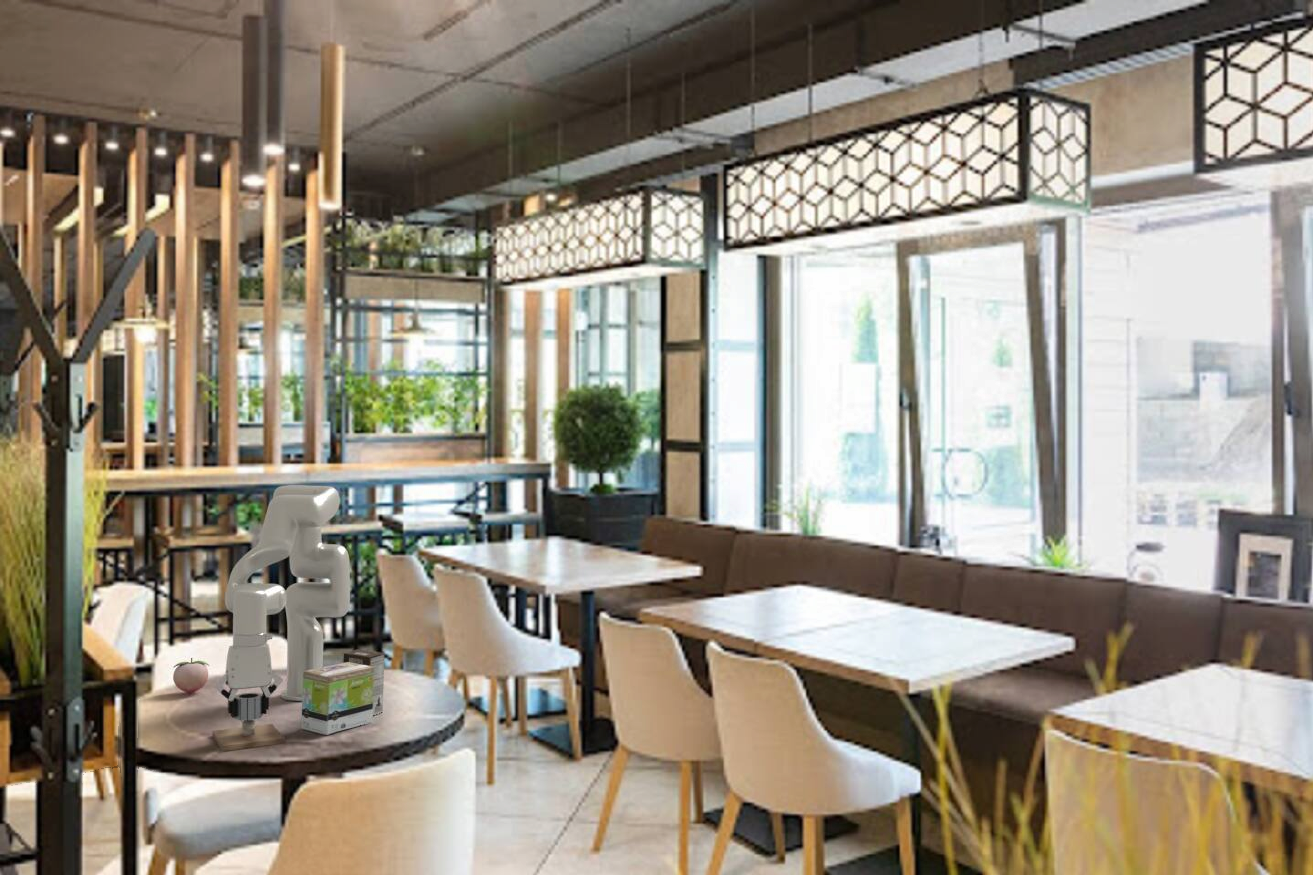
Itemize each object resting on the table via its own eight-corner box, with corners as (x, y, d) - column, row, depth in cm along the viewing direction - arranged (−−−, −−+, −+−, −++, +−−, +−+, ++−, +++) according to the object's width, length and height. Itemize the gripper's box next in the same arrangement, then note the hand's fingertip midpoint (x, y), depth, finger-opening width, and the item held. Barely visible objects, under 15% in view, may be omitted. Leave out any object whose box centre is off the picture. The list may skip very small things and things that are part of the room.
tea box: (328, 736, 272) (329, 676, 271) (300, 729, 277) (301, 670, 277) (374, 722, 284) (375, 665, 284) (346, 716, 290) (347, 660, 289)
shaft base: (271, 728, 277) (272, 710, 277) (284, 743, 265) (285, 724, 265) (212, 735, 270) (212, 717, 270) (222, 751, 258) (223, 732, 258)
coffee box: (340, 713, 292) (341, 652, 292) (357, 708, 298) (357, 648, 298) (368, 718, 288) (369, 656, 288) (384, 712, 294) (385, 652, 294)
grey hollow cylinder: (259, 711, 272) (259, 691, 272) (265, 718, 266) (265, 697, 266) (231, 715, 268) (232, 694, 268) (237, 721, 263) (237, 700, 263)
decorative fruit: (178, 699, 303) (178, 662, 303) (169, 693, 310) (170, 657, 310) (213, 694, 309) (214, 658, 309) (204, 688, 316) (204, 653, 315)
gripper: (283, 634, 275) (281, 706, 275) (208, 640, 266) (207, 715, 266) (290, 639, 268) (288, 714, 269) (214, 646, 259) (212, 722, 260)
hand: (248, 713), depth 267 cm, fingers closed on grey hollow cylinder, 6 cm apart
